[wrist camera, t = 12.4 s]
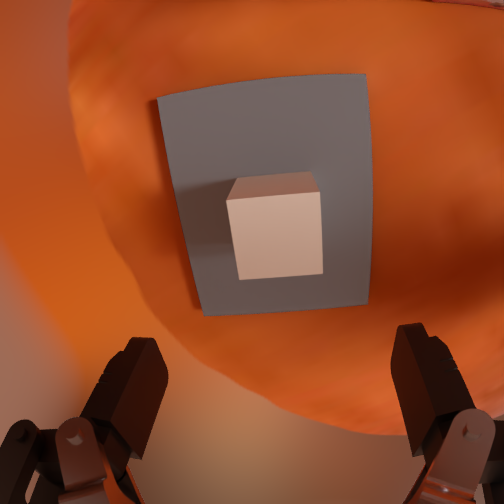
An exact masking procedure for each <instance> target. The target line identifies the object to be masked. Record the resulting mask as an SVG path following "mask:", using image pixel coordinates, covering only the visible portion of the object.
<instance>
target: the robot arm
mask: <svg viewBox="0 0 504 504" xmlns="http://www.w3.org/2000/svg"><path fill="white" fill-rule="evenodd" d="M457 368H458V367H457V365H456V363H455V361H454V360H453V357H452V355H451V353H450V351H449V349H448V347H447V345H446V344H445V343H443V342H442V341H441V340H440V339H439V338H438V337H437V336H433V337H429V336H428V334H427V332H426V330H425V328H424V326H423V324H422V323H413V324H406V325H399V326H398V328H397V332H396V337H395V342H394V347H393V352H392V356H391V374H392V378H393V382H394V385H395V389H396V392H397V396H398V400H399V403H400V407H401V411H402V415H403V419H404V422H405V426H406V430H407V435H408V439H409V443H410V447H411V451H412V456H413V457H415V456H419V455H424V459H425V464H424V466H423V468H422V470H421V472H420V473H419V475H418V477H417V479H416V481H415V483H414V485H413V486H412V488H411V490H410V491H409V493H408V495H407V496H406V498H405V500H404V501H403V503H402V504H476V501H475V500H474V494H475V491H476V489H477V486H478V484H480V483H482V487H483V493H484V498H485V504H504V421H497V420H492V418H491V417H490V416H489V415H488V414H487V413H486V412H484V411H482V410H479V409H477V408H476V407H475V405H474V403H473V400H472V398H471V396H470V393H469V391H468V389H467V387H466V384H465V382H464V380H463V378H462V376H461V374H460V371H459V370H458V369H457ZM167 384H168V370H167V367H166V364H165V362H164V360H163V357H162V355H161V353H160V350H159V348H158V345H157V343H156V341H155V339H154V338H142V337H132V338H131V339H130V340H129V342H128V344H127V346H126V348H125V349H124V351H119V352H118V353H117V354H116V355H115V356H114V357H113V358H112V359H111V360H110V361H109V362H108V364H107V366H106V368H105V370H104V373H103V374H102V375H101V377H100V379H99V383H97V384H96V386H95V388H94V390H93V392H92V394H91V396H90V397H89V399H88V401H87V403H86V405H85V407H84V409H83V411H82V413H81V415H80V416H79V417H73V418H70V419H68V420H66V421H64V423H62V424H61V425H60V426H59V428H58V429H46V430H39V428H37V426H36V425H35V424H34V423H33V422H32V421H30V420H20V421H18V422H16V423H15V424H13V425H12V426H11V428H10V429H9V431H8V433H7V435H6V437H5V439H4V441H3V443H2V445H1V447H0V504H27V503H26V500H25V493H26V490H27V488H28V485H29V483H30V480H31V478H32V475H33V473H34V470H35V471H36V472H38V473H39V474H40V475H39V478H38V481H37V483H36V486H35V488H34V491H33V494H32V496H31V499H30V502H29V503H28V504H145V502H144V500H143V498H142V496H141V493H140V491H139V489H138V487H137V485H136V482H135V480H134V478H133V475H132V473H131V471H130V468H129V466H128V465H127V463H128V461H129V458H135V459H140V460H141V459H142V457H143V454H144V451H145V448H146V445H147V442H148V439H149V436H150V433H151V430H152V427H153V424H154V422H155V419H156V416H157V413H158V410H159V407H160V404H161V401H162V399H163V396H164V393H165V390H166V387H167Z"/></svg>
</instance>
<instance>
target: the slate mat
mask: <svg viewBox="0 0 504 504" xmlns="http://www.w3.org/2000/svg"><path fill="white" fill-rule="evenodd" d="M157 101H158V108H159V114H160V119H161V125H162V131H163V136H164V142H165V147H166V153H167V158H168V163H169V168H170V173H171V178H172V183H173V188H174V193H175V198H176V202H177V207H178V212H179V216H180V221H181V225H182V230H183V234H184V238H185V243H186V247H187V251H188V255H189V260H190V264H191V268H192V272H193V276H194V280H195V284H196V288H197V292H198V296H199V299H200V303H201V307H202V311H203V314H204V316H221V315H242V314H260V313H276V312H290V311H303V310H315V309H327V308H338V307H348V306H358V305H367V304H368V297H369V285H370V270H371V251H372V219H373V177H372V146H371V127H370V113H369V101H368V90H367V80H366V74H323V75H304V76H290V77H278V78H268V79H259V80H251V81H243V82H236V83H229V84H223V85H217V86H211V87H205V88H200V89H195V90H190V91H185V92H180V93H175V94H171V95H166V96H162V97H158V98H157ZM308 171H311V173H312V176H313V178H314V180H315V182H316V184H317V187H318V189H319V191H320V203H321V224H322V253H323V274H314V275H301V276H288V277H275V278H261V279H246V280H239V275H238V269H237V264H236V258H235V252H234V246H233V239H232V233H231V227H230V221H229V215H228V209H227V203H226V200H227V197H228V195H229V193H230V191H231V189H232V187H233V185H234V183H235V181H236V179H237V178H242V177H251V176H261V175H271V174H283V173H294V172H308Z"/></svg>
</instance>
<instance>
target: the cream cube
mask: <svg viewBox="0 0 504 504" xmlns="http://www.w3.org/2000/svg"><path fill="white" fill-rule="evenodd" d="M226 203H227V209H228V215H229V221H230V227H231V233H232V239H233V246H234V252H235V258H236V264H237V269H238V275H239V280H246V279H261V278H275V277H288V276H301V275H314V274H323V253H322V224H321V203H320V191H319V189H318V187H317V184H316V182H315V180H314V178H313V176H312V173H311V171H308V172H294V173H283V174H271V175H261V176H251V177H242V178H237V179H236V181H235V183H234V185H233V187H232V189H231V191H230V193H229V195H228V197H227V200H226Z"/></svg>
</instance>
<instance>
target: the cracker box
mask: <svg viewBox="0 0 504 504" xmlns="http://www.w3.org/2000/svg"><path fill="white" fill-rule="evenodd" d="M432 1H433V2H448V3H459V4H469V5H476V6H484V7H490V8H496V9H502V10H504V0H432Z"/></svg>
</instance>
